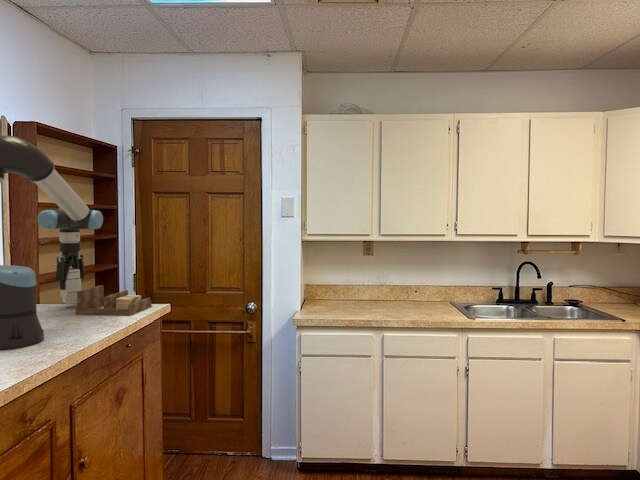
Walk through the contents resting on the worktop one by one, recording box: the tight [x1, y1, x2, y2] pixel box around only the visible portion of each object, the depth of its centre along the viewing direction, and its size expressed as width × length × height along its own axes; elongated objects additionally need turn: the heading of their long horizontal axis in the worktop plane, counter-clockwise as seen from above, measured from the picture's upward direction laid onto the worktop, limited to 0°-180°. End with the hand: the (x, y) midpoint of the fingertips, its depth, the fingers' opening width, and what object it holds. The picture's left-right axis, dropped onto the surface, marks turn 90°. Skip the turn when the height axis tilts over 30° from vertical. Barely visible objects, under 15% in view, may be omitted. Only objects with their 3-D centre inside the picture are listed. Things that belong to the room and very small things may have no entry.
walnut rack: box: [75, 284, 153, 317], centre depth 173 cm, size 18×22×9 cm
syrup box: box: [62, 268, 82, 305], centre depth 178 cm, size 6×6×14 cm
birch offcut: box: [116, 294, 142, 306], centre depth 173 cm, size 8×6×3 cm
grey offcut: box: [116, 306, 128, 309], centre depth 172 cm, size 8×6×3 cm
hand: (71, 295), depth 179 cm, fingers closed on syrup box, 8 cm apart
